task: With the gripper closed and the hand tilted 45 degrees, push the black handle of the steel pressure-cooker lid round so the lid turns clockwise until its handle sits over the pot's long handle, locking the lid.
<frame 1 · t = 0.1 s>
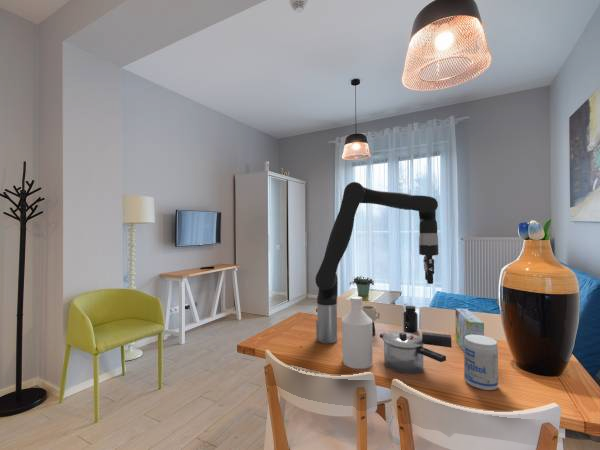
hand: (429, 281, 123), 29 cm above the table, tool pointing down, fingers open, 8 cm apart
supplement tub: (481, 384, 96), on the table
character mug: (368, 333, 144), on the table
lid: (415, 337, 108), point 11 cm above the table, hinge at 36.0°
bottle: (357, 362, 113), on the table
supplement bottle: (410, 330, 148), on the table
pot: (403, 365, 110), on the table
snack box: (468, 350, 123), on the table
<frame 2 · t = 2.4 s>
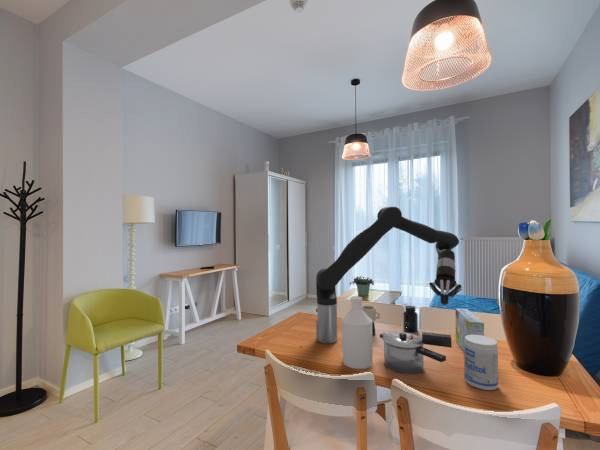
hand: (444, 303, 119), 21 cm above the table, tool tilted 45°, fingers closed
nothing on the table moved.
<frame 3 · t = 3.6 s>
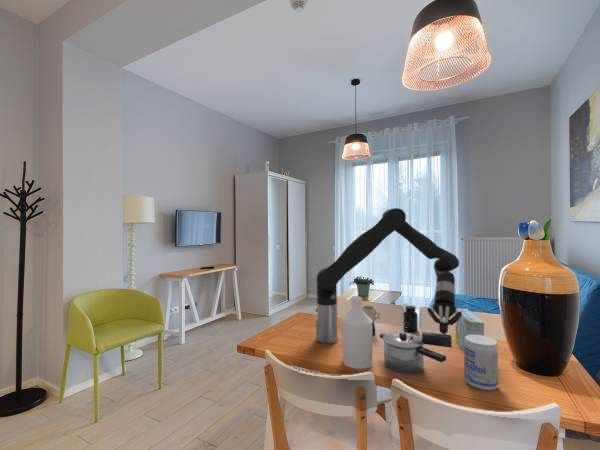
hand: (443, 333, 111), 12 cm above the table, tool tilted 45°, fingers closed
nothing on the table moved.
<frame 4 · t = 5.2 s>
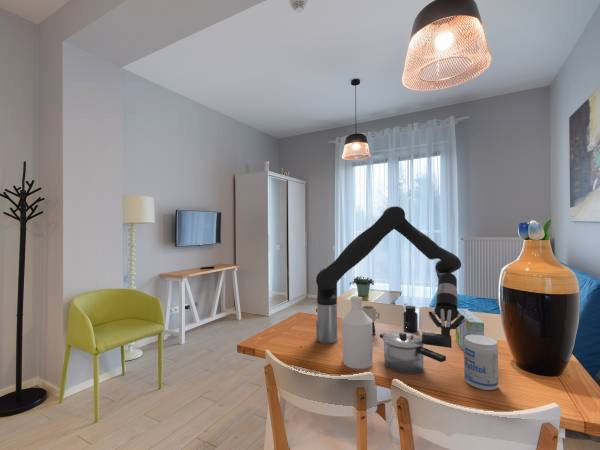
hand: (445, 337, 106), 12 cm above the table, tool tilted 45°, fingers closed
lid: (415, 337, 108), point 11 cm above the table, hinge at 34.8°, touching gripper
everything else where it was.
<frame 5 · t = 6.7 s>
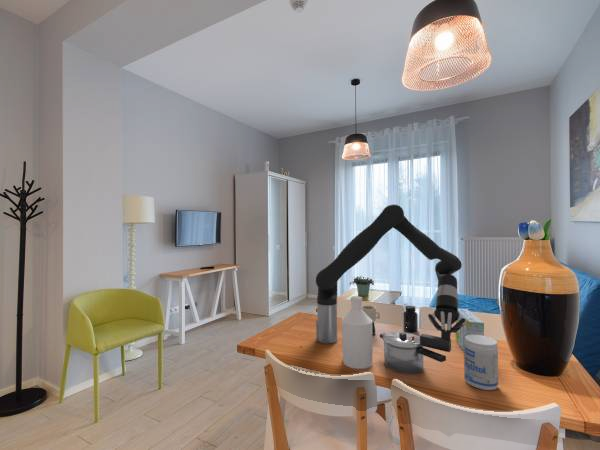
hand: (445, 341, 103), 12 cm above the table, tool tilted 45°, fingers closed
lid: (415, 338, 107), point 11 cm above the table, hinge at 19.2°, touching gripper
everything else where it was.
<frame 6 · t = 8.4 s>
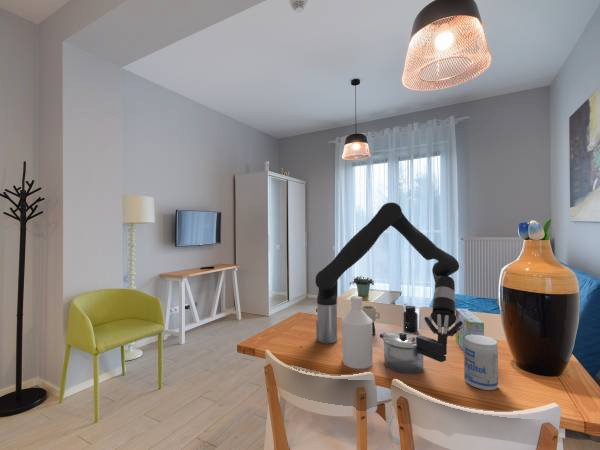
hand: (442, 345, 100), 11 cm above the table, tool tilted 45°, fingers closed
lid: (413, 339, 106), point 11 cm above the table, hinge at 1.7°, touching gripper
everything else where it was.
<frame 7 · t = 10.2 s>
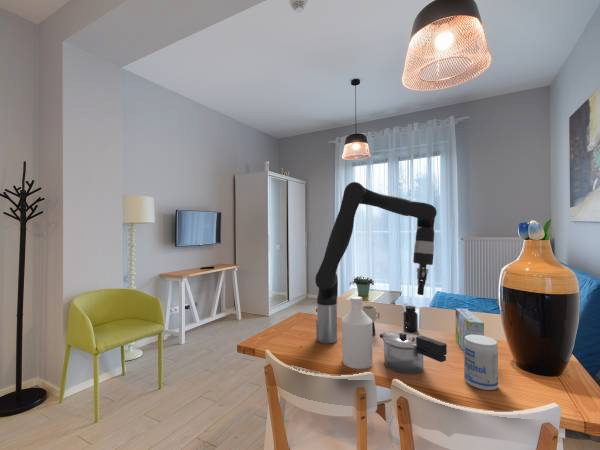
hand: (420, 294, 119), 25 cm above the table, tool pointing down, fingers closed
lid: (413, 339, 106), point 11 cm above the table, hinge at 1.6°
everything else where it was.
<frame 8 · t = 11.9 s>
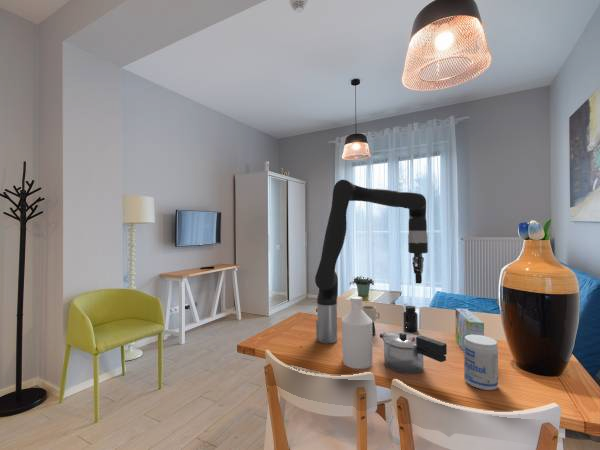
hand: (418, 283, 121), 29 cm above the table, tool pointing down, fingers closed
nothing on the table moved.
at the end: lid at +2° (first picture: +36°) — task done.
